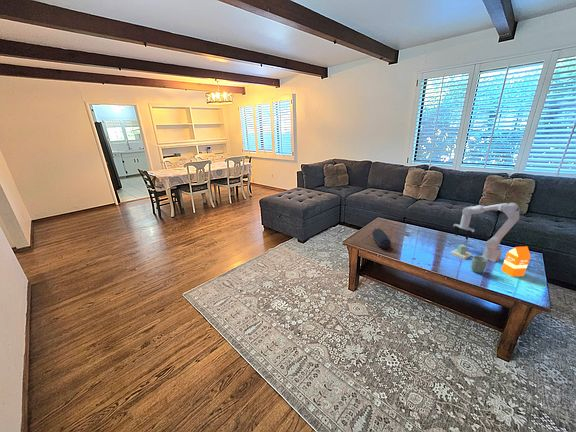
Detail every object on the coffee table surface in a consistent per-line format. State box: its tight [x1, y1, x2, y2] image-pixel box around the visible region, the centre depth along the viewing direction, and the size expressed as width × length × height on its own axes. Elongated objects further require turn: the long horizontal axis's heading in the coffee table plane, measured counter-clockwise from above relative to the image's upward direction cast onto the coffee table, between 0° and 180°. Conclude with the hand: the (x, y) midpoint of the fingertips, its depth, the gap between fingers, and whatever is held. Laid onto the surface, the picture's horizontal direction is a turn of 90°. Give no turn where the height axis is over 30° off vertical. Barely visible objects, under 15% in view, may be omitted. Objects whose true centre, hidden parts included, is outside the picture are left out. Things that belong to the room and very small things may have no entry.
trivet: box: [450, 248, 473, 260], centre depth 185 cm, size 10×10×3 cm
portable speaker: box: [371, 228, 392, 249], centre depth 206 cm, size 25×10×10 cm, turn 177°
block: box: [456, 244, 467, 254], centre depth 184 cm, size 4×4×6 cm
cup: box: [470, 255, 489, 274], centre depth 162 cm, size 8×8×10 cm
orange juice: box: [501, 246, 531, 277], centre depth 158 cm, size 8×9×20 cm
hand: (461, 237), depth 193 cm, fingers open, 7 cm apart
